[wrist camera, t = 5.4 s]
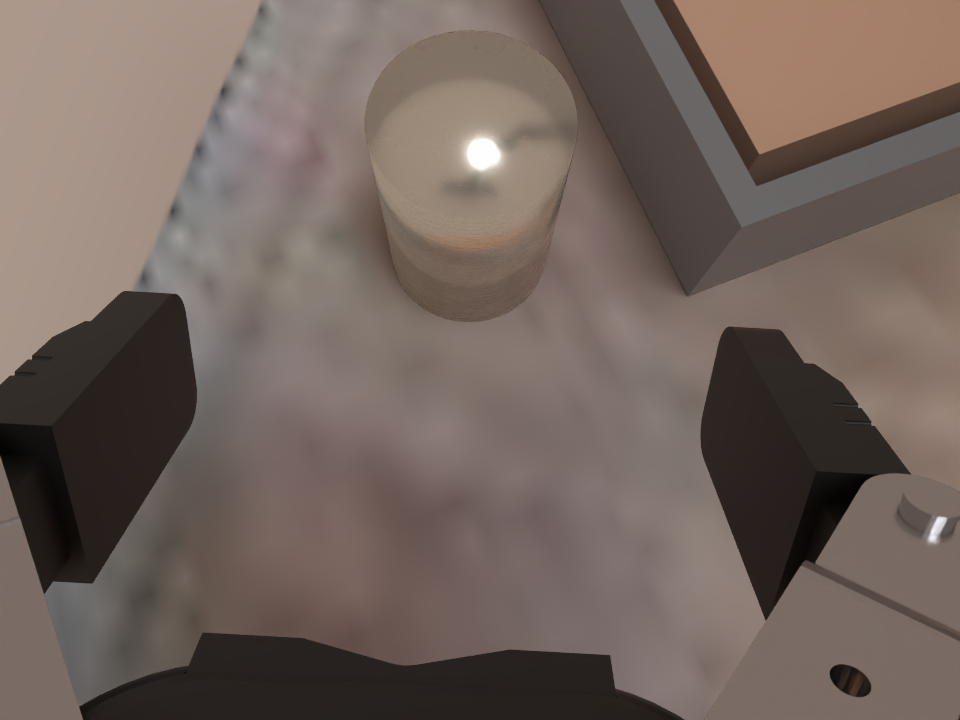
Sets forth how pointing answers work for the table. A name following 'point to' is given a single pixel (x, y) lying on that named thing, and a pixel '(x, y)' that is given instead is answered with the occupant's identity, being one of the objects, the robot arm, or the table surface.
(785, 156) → the flat box
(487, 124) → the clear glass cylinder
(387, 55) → the table surface
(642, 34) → the tote
